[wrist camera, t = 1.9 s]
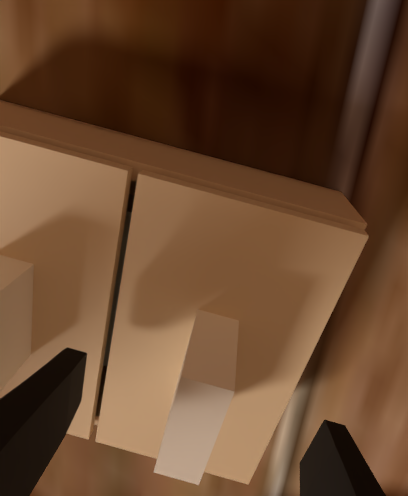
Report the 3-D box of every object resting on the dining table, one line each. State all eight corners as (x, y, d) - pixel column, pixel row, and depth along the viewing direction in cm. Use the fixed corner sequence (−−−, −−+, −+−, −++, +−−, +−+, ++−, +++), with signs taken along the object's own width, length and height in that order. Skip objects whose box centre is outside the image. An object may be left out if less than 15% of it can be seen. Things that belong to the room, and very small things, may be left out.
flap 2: (99, 431, 16) (60, 519, 12) (143, 169, 11) (95, 206, 7) (248, 472, 16) (247, 571, 12) (364, 229, 10) (411, 292, 7)
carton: (0, 333, 19) (-52, 383, 16) (-4, 98, 14) (-81, 102, 11) (251, 403, 19) (251, 468, 16) (340, 191, 14) (367, 224, 11)
